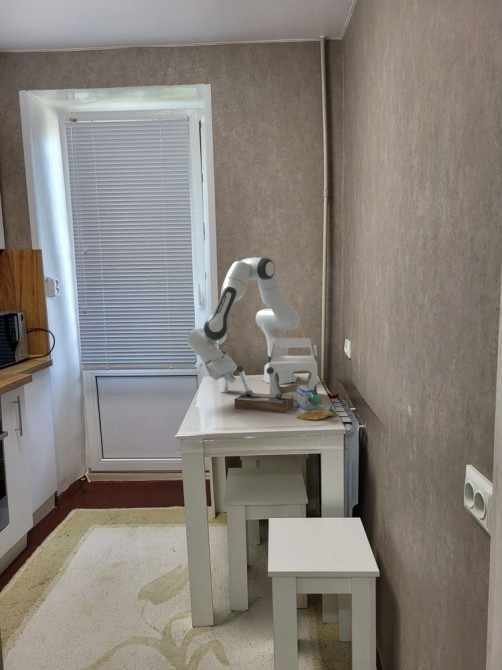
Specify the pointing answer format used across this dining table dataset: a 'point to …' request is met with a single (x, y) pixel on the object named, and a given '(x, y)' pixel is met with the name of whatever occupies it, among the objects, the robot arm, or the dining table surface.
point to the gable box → (293, 363)
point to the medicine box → (304, 397)
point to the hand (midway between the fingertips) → (234, 381)
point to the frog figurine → (317, 415)
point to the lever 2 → (274, 382)
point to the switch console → (264, 402)
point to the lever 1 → (244, 380)
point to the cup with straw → (223, 384)
